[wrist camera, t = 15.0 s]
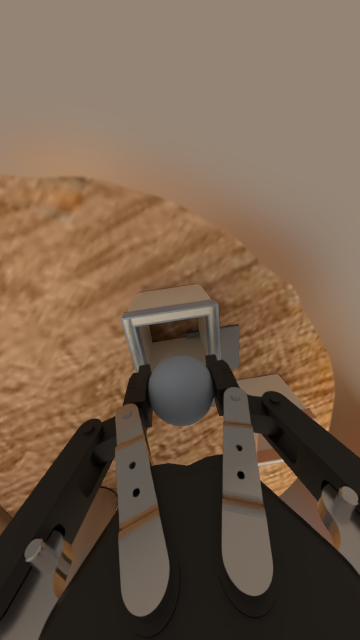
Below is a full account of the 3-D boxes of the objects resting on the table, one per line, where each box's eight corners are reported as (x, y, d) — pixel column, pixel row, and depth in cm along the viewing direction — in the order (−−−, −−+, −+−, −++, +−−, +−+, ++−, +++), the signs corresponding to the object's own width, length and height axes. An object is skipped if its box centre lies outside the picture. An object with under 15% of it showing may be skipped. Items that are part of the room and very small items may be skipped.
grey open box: (229, 416, 32) (249, 468, 25) (228, 381, 29) (250, 429, 22) (274, 408, 32) (306, 458, 25) (278, 372, 29) (316, 418, 22)
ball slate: (155, 392, 15) (153, 447, 11) (144, 348, 14) (136, 394, 10) (208, 384, 16) (224, 436, 11) (204, 338, 14) (221, 380, 10)
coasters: (172, 411, 31) (172, 413, 30) (156, 337, 25) (156, 338, 25) (238, 400, 31) (239, 402, 31) (237, 324, 25) (238, 325, 25)
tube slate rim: (148, 347, 26) (142, 392, 18) (135, 292, 22) (121, 318, 15) (205, 339, 26) (221, 379, 18) (200, 282, 22) (218, 303, 15)
